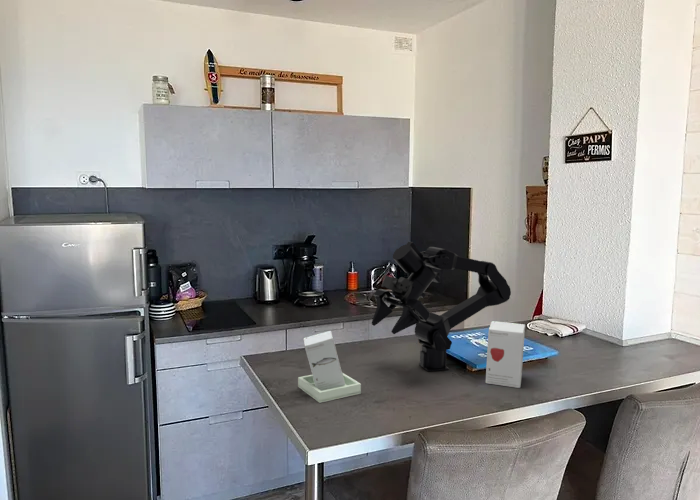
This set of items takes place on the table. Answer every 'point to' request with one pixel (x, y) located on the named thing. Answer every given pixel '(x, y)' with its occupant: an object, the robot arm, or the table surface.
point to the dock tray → (326, 395)
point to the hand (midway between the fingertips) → (382, 328)
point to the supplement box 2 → (505, 354)
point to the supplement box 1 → (324, 361)
